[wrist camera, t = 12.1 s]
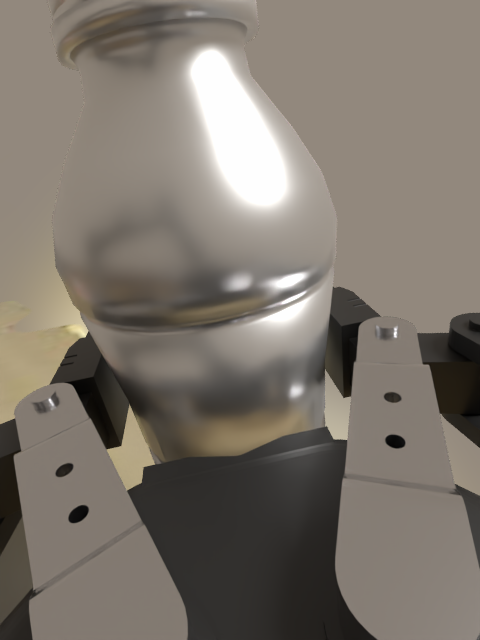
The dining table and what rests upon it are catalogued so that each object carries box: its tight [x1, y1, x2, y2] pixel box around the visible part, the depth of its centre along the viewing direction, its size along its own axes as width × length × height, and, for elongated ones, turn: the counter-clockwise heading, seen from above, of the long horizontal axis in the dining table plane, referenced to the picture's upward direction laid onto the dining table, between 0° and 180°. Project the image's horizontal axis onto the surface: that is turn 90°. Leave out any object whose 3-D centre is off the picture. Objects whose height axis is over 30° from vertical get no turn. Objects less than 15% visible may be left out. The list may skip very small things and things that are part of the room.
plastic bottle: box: [47, 0, 337, 464], centre depth 11 cm, size 6×7×20 cm
